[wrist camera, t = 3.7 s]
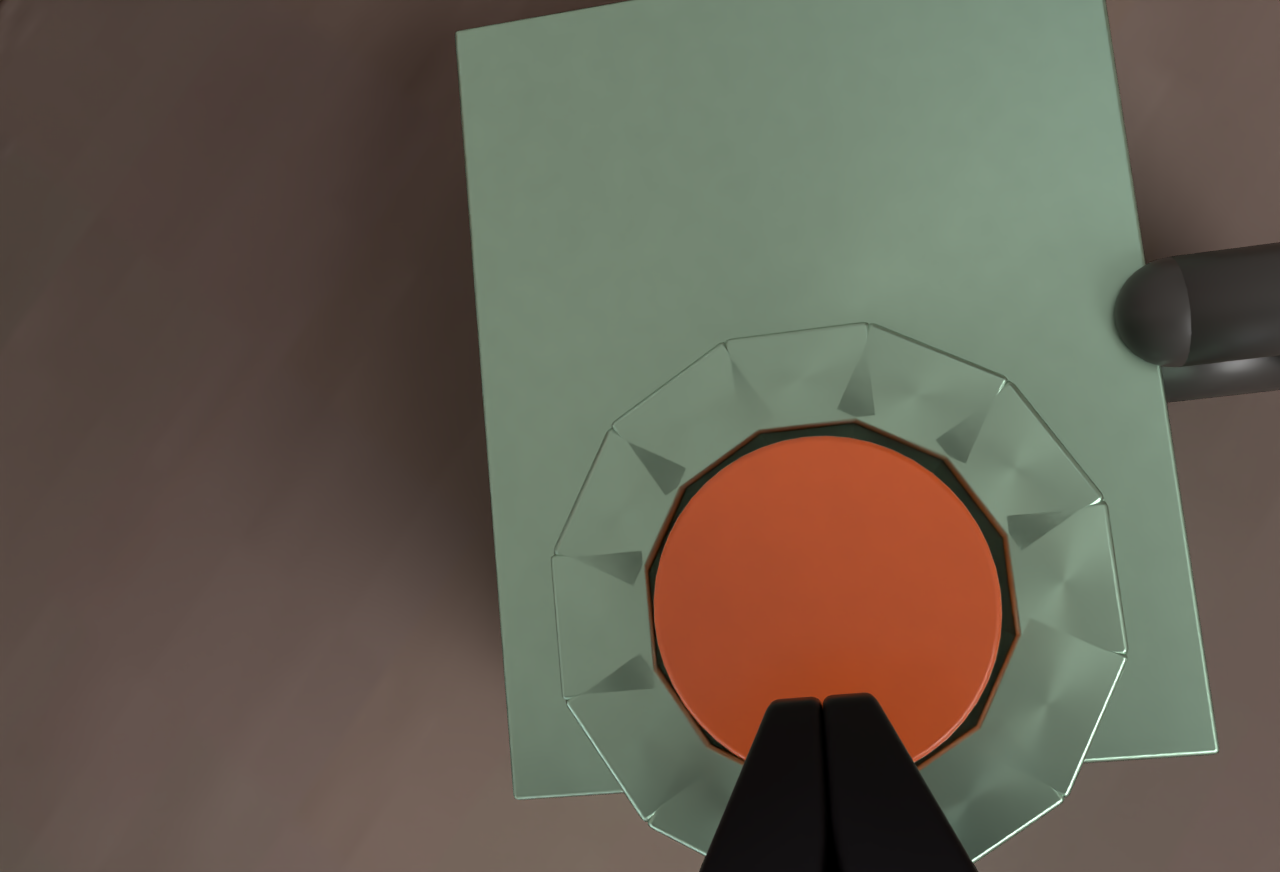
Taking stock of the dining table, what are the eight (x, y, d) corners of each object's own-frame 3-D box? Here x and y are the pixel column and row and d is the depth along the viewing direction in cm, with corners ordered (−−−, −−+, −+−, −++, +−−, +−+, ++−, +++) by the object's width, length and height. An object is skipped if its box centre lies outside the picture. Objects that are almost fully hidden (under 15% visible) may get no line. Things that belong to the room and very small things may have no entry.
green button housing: (1127, 760, 20) (1287, 873, 13) (605, 794, 21) (475, 911, 14) (1031, 85, 21) (1124, -166, 14) (550, 160, 23) (407, -32, 16)
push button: (1002, 745, 14) (1026, 772, 12) (692, 767, 14) (668, 796, 12) (962, 435, 14) (979, 415, 12) (664, 469, 15) (637, 454, 13)
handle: (1346, 387, 19) (1537, 316, 14) (1060, 419, 20) (1136, 363, 14) (1331, 301, 19) (1514, 199, 14) (1049, 336, 20) (1119, 252, 15)
